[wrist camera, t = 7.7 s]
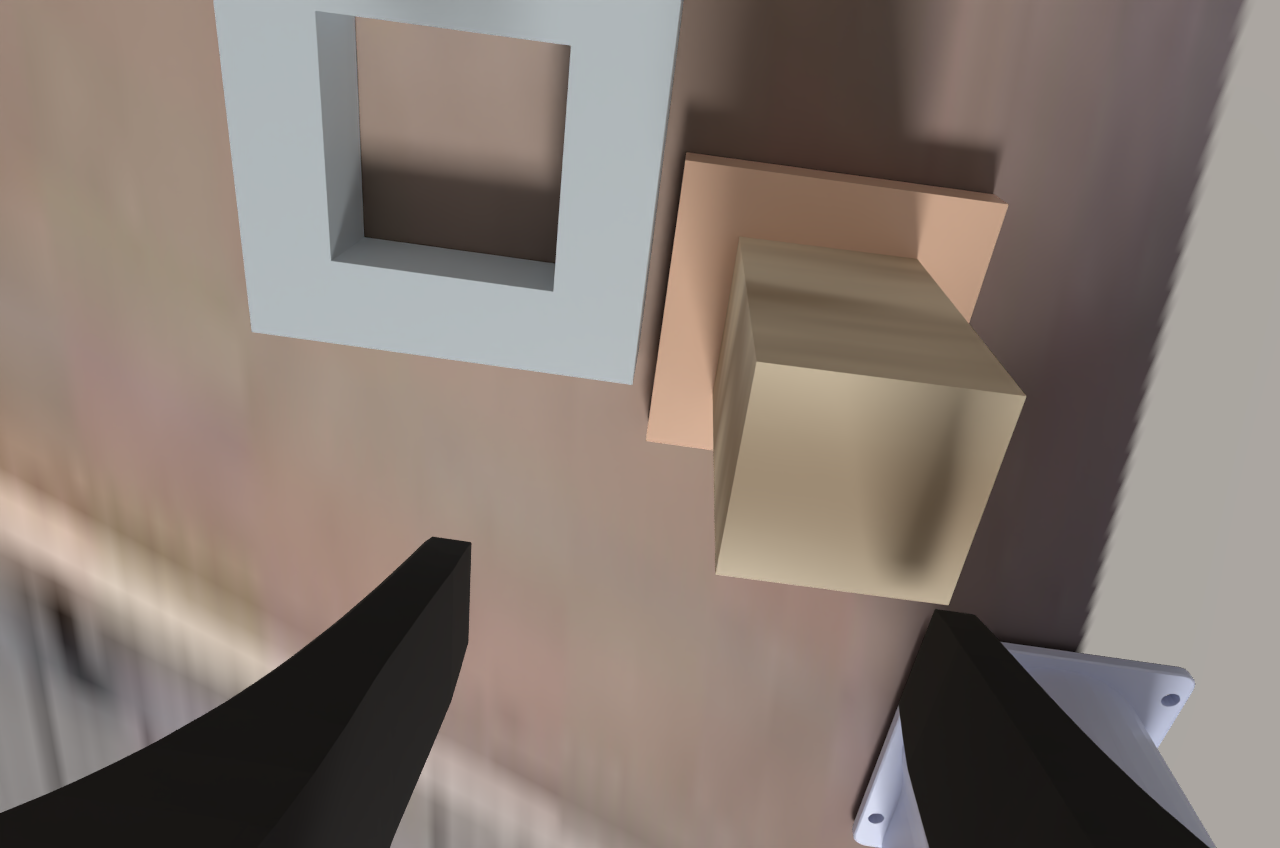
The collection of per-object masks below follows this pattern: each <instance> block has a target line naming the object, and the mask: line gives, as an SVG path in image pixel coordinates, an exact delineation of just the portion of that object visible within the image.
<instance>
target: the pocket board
mask: <svg viewBox="0 0 1280 848" xmlns="http://www.w3.org/2000/svg"><path fill="white" fill-rule="evenodd" d="M213 1H214V10H215V18H216V27H217V35H218V44H219V53H220V61H221V70H222V79H223V87H224V96H225V104H226V113H227V122H228V130H229V139H230V147H231V156H232V165H233V173H234V182H235V191H236V199H237V208H238V216H239V225H240V234H241V242H242V251H243V260H244V268H245V277H246V285H247V294H248V303H249V311H250V320H251V328H252V332H256V333H264V334H271V335H278V336H285V337H292V338H299V339H307V340H314V341H321V342H328V343H335V344H343V345H350V346H357V347H364V348H371V349H378V350H386V351H393V352H400V353H407V354H414V355H422V356H429V357H436V358H443V359H450V360H457V361H465V362H472V363H479V364H486V365H493V366H501V367H508V368H515V369H522V370H529V371H536V372H544V373H551V374H558V375H565V376H572V377H580V378H587V379H594V380H601V381H608V382H615V383H623V384H630V385H632V384H633V378H634V373H635V368H636V362H637V357H638V352H639V344H640V336H641V328H642V321H643V313H644V305H645V297H646V290H647V282H648V274H649V266H650V258H651V251H652V243H653V235H654V227H655V220H656V212H657V204H658V196H659V188H660V181H661V173H662V165H663V157H664V150H665V142H666V134H667V126H668V119H669V111H670V103H671V95H672V87H673V80H674V72H675V64H676V56H677V49H678V41H679V33H680V25H681V17H682V10H683V2H684V0H213ZM355 16H358V17H365V18H373V19H380V20H387V21H395V22H402V23H409V24H417V25H424V26H431V27H439V28H446V29H453V30H461V31H468V32H475V33H483V34H490V35H497V36H505V37H512V38H519V39H526V40H534V41H541V42H548V43H556V44H563V45H570V46H571V53H570V67H569V81H568V95H567V109H566V123H565V137H564V150H563V164H562V178H561V192H560V206H559V220H558V234H557V248H556V262H555V263H548V262H541V261H533V260H526V259H519V258H512V257H504V256H497V255H490V254H483V253H476V252H468V251H461V250H454V249H447V248H439V247H432V246H425V245H418V244H410V243H403V242H396V241H389V240H382V239H374V238H367V237H364V219H363V196H362V173H361V149H360V126H359V103H358V79H357V56H356V33H355Z"/></svg>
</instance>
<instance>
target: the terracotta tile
mask: <svg viewBox="0 0 1280 848" xmlns="http://www.w3.org/2000/svg"><path fill="white" fill-rule="evenodd" d="M1008 205H1009V204H1007V203H1006V202H1004V201H1003V200H1001V199H1000V198H999V197H997V196H996V195H994V194H988V193H980V192H973V191H966V190H959V189H951V188H944V187H937V186H929V185H922V184H915V183H908V182H900V181H893V180H886V179H878V178H871V177H864V176H857V175H849V174H842V173H835V172H827V171H820V170H813V169H806V168H798V167H791V166H784V165H776V164H769V163H762V162H755V161H747V160H740V159H733V158H725V157H718V156H711V155H704V154H696V153H689V152H686V159H685V166H684V173H683V180H682V187H681V194H680V201H679V209H678V216H677V223H676V230H675V237H674V244H673V251H672V258H671V265H670V272H669V279H668V286H667V294H666V301H665V308H664V315H663V322H662V329H661V336H660V343H659V350H658V357H657V364H656V371H655V378H654V386H653V393H652V400H651V407H650V414H649V421H648V428H647V436H646V441H650V442H657V443H664V444H672V445H679V446H686V447H693V448H700V449H707V450H713V390H714V384H715V378H716V372H717V366H718V360H719V354H720V348H721V342H722V336H723V330H724V324H725V318H726V313H727V307H728V301H729V295H730V289H731V283H732V277H733V271H734V265H735V259H736V253H737V247H738V241H739V236H740V237H748V238H756V239H764V240H772V241H780V242H788V243H796V244H803V245H811V246H819V247H827V248H835V249H843V250H851V251H859V252H866V253H874V254H882V255H890V256H898V257H906V258H914V259H918V260H919V262H920V263H921V264H922V265H923V267H924V268H925V269H926V270H927V272H928V273H929V274H930V275H931V277H932V278H933V279H934V281H935V282H936V283H937V284H938V286H939V287H940V288H941V289H942V291H943V292H944V293H945V294H946V296H947V297H948V298H949V299H950V301H951V302H952V303H953V304H954V306H955V307H956V308H957V309H958V311H959V312H960V313H961V314H962V316H963V317H964V318H965V320H966V321H967V322H968V323H969V322H970V319H971V316H972V313H973V310H974V307H975V304H976V301H977V298H978V295H979V292H980V289H981V286H982V283H983V280H984V277H985V274H986V271H987V268H988V265H989V262H990V259H991V256H992V253H993V250H994V247H995V244H996V241H997V238H998V235H999V232H1000V229H1001V226H1002V223H1003V220H1004V217H1005V214H1006V211H1007V208H1008Z"/></svg>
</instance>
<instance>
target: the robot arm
mask: <svg viewBox="0 0 1280 848" xmlns="http://www.w3.org/2000/svg"><path fill="white" fill-rule="evenodd" d="M470 571H471V542H466V541H459V540H452V539H445V538H438V537H431V538H430V539H428V540H427V541H425V542H424V543H423V544H422V545H421V546H420V547H419V548H418V549H417V550H416V551H415V552H414V553H413V554H412V555H411V556H410V557H409V558H408V559H407V560H406V561H405V562H403V563H402V564H401V565H400V566H399V567H398V568H397V569H396V570H395V571H394V572H393V573H392V574H391V575H390V576H388V577H387V578H386V579H385V580H384V581H383V582H382V583H381V584H380V585H379V586H378V587H376V588H375V589H374V590H373V591H372V592H371V593H370V594H369V595H367V596H366V597H365V598H364V599H363V600H362V601H360V602H359V603H358V604H357V605H356V606H355V607H353V608H352V609H351V610H350V611H349V612H348V613H347V614H345V615H344V616H343V617H342V618H341V619H339V620H338V621H337V622H336V623H335V624H333V625H332V626H331V627H330V628H328V629H327V630H326V631H324V632H323V633H322V634H321V635H319V636H318V637H317V638H315V639H314V640H313V641H312V642H310V643H309V644H308V645H306V646H305V647H304V648H303V649H301V650H300V651H299V652H297V653H296V654H295V655H294V656H292V657H291V658H290V659H288V660H287V661H285V662H284V663H283V664H281V665H280V666H278V667H277V668H276V669H274V670H273V671H271V672H270V673H269V674H267V675H266V676H264V677H263V678H261V679H260V680H258V681H257V682H255V683H254V684H252V685H251V686H249V687H248V688H246V689H245V690H243V691H242V692H240V693H239V694H237V695H236V696H234V697H233V698H231V699H229V700H228V701H226V702H225V703H223V704H221V705H220V706H218V707H216V708H214V709H213V710H211V711H209V712H208V713H206V714H204V715H203V716H201V717H199V718H197V719H196V720H194V721H192V722H190V723H189V724H187V725H185V726H183V727H182V728H180V729H178V730H176V731H174V732H173V733H171V734H169V735H167V736H166V737H164V738H162V739H160V740H159V741H157V742H155V743H153V744H151V745H149V746H147V747H145V748H143V749H141V750H139V751H137V752H135V753H133V754H131V755H129V756H127V757H125V758H123V759H121V760H119V761H117V762H115V763H113V764H111V765H109V766H107V767H105V768H103V769H101V770H99V771H96V772H94V773H92V774H90V775H88V776H86V777H84V778H82V779H79V780H77V781H75V782H73V783H71V784H69V785H66V786H64V787H62V788H60V789H57V790H55V791H53V792H51V793H48V794H46V795H43V796H41V797H39V798H36V799H34V800H31V801H29V802H26V803H24V804H22V805H19V806H17V807H14V808H12V809H9V810H7V811H4V812H2V813H0V848H390V846H391V843H392V840H393V838H394V835H395V833H396V830H397V828H398V826H399V823H400V821H401V819H402V816H403V814H404V812H405V809H406V807H407V805H408V802H409V800H410V797H411V795H412V793H413V790H414V788H415V786H416V783H417V781H418V779H419V776H420V774H421V772H422V769H423V767H424V765H425V762H426V760H427V758H428V755H429V753H430V751H431V748H432V746H433V743H434V741H435V739H436V736H437V734H438V732H439V729H440V727H441V724H442V722H443V720H444V717H445V715H446V712H447V710H448V708H449V705H450V703H451V700H452V696H453V693H454V690H455V686H456V683H457V680H458V676H459V673H460V669H461V666H462V662H463V659H464V655H465V652H466V648H467V645H468V635H469V603H470ZM1194 687H1195V681H1194V679H1193V677H1192V676H1191V675H1190V673H1189V672H1188V671H1187V670H1186V669H1184V668H1181V667H1175V666H1168V665H1161V664H1154V663H1147V662H1139V661H1133V660H1125V659H1119V658H1111V657H1105V656H1097V655H1090V654H1083V653H1076V652H1069V651H1062V650H1055V649H1048V648H1041V647H1034V646H1027V645H1019V644H1012V643H1005V642H1000V641H999V640H998V639H997V638H996V637H995V636H994V635H993V633H992V632H991V631H990V630H989V629H988V628H987V627H986V626H985V625H984V624H983V623H982V622H981V621H980V620H979V619H978V618H977V617H976V616H975V615H972V614H965V613H958V612H951V611H944V610H937V609H935V611H934V613H933V616H932V618H931V621H930V624H929V626H928V629H927V631H926V634H925V637H924V639H923V642H922V644H921V647H920V650H919V652H918V655H917V657H916V660H915V663H914V665H913V668H912V670H911V673H910V675H909V678H908V681H907V683H906V686H905V688H904V691H903V694H902V696H901V699H900V701H899V704H898V708H897V710H896V713H895V716H894V718H893V721H892V724H891V726H890V729H889V731H888V734H887V737H886V739H885V742H884V745H883V747H882V750H881V753H880V755H879V758H878V760H877V763H876V766H875V768H874V771H873V774H872V776H871V779H870V782H869V784H868V787H867V789H866V792H865V795H864V797H863V800H862V803H861V805H860V808H859V811H858V813H857V816H856V818H855V821H854V824H853V828H852V830H853V836H854V839H855V841H857V842H858V843H860V844H862V845H866V846H873V847H880V848H1216V846H1215V844H1214V843H1213V841H1212V839H1211V838H1210V836H1209V834H1208V833H1207V831H1206V829H1205V828H1204V826H1203V824H1202V823H1201V821H1200V819H1199V817H1198V816H1197V814H1196V812H1195V811H1194V809H1193V807H1192V806H1191V804H1190V803H1189V801H1188V799H1187V797H1186V796H1185V794H1184V792H1183V791H1182V789H1181V787H1180V786H1179V784H1178V782H1177V781H1176V779H1175V777H1174V776H1173V774H1172V772H1171V771H1170V769H1169V767H1168V766H1167V764H1166V762H1165V761H1164V759H1163V757H1162V756H1161V754H1160V752H1159V751H1158V749H1157V748H1158V747H1159V745H1160V744H1161V742H1162V740H1163V739H1164V737H1165V735H1166V734H1167V732H1168V730H1169V729H1170V727H1171V725H1172V724H1173V722H1174V721H1175V719H1176V717H1177V716H1178V714H1179V713H1180V711H1181V709H1182V708H1183V706H1184V704H1185V703H1186V701H1187V700H1188V698H1189V696H1190V695H1191V693H1192V691H1193V689H1194ZM1168 694H1169V695H1168ZM1166 695H1167V696H1166Z"/></svg>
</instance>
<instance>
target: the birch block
mask: <svg viewBox="0 0 1280 848" xmlns="http://www.w3.org/2000/svg"><path fill="white" fill-rule="evenodd" d="M1025 399H1026V395H1025V394H1024V393H1023V391H1022V390H1021V389H1020V387H1019V386H1018V385H1017V384H1016V382H1015V381H1014V380H1013V379H1012V377H1011V376H1010V375H1009V374H1008V372H1007V371H1006V370H1005V369H1004V367H1003V366H1002V365H1001V364H1000V362H999V361H998V360H997V359H996V357H995V356H994V355H993V354H992V352H991V351H990V350H989V348H988V347H987V346H986V345H985V343H984V342H983V341H982V340H981V338H980V337H979V336H978V335H977V333H976V332H975V331H974V330H973V328H972V327H971V326H970V325H969V323H968V322H967V321H966V320H965V318H964V317H963V316H962V314H961V313H960V312H959V311H958V309H957V308H956V307H955V306H954V304H953V303H952V302H951V301H950V299H949V298H948V297H947V296H946V294H945V293H944V292H943V291H942V289H941V288H940V287H939V286H938V284H937V283H936V282H935V281H934V279H933V278H932V277H931V275H930V274H929V273H928V272H927V270H926V269H925V268H924V267H923V265H922V264H921V263H920V262H919V260H918V259H914V258H906V257H898V256H890V255H882V254H874V253H866V252H859V251H851V250H843V249H835V248H827V247H819V246H811V245H803V244H796V243H788V242H780V241H772V240H764V239H756V238H748V237H740V236H739V241H738V247H737V253H736V259H735V265H734V271H733V277H732V283H731V289H730V295H729V301H728V307H727V313H726V318H725V324H724V330H723V336H722V342H721V348H720V354H719V360H718V366H717V372H716V378H715V384H714V390H713V456H714V516H715V575H723V576H730V577H738V578H745V579H753V580H761V581H768V582H776V583H783V584H791V585H798V586H806V587H814V588H821V589H829V590H836V591H844V592H851V593H859V594H867V595H874V596H882V597H889V598H897V599H905V600H912V601H920V602H927V603H935V604H942V605H949V602H950V600H951V597H952V594H953V592H954V589H955V586H956V584H957V581H958V578H959V576H960V573H961V570H962V568H963V565H964V562H965V560H966V557H967V554H968V552H969V549H970V546H971V544H972V541H973V538H974V535H975V533H976V530H977V527H978V525H979V522H980V519H981V517H982V514H983V511H984V509H985V506H986V503H987V501H988V498H989V495H990V493H991V490H992V487H993V485H994V482H995V479H996V477H997V474H998V471H999V469H1000V466H1001V463H1002V461H1003V458H1004V455H1005V453H1006V450H1007V447H1008V445H1009V442H1010V439H1011V437H1012V434H1013V431H1014V429H1015V426H1016V423H1017V420H1018V418H1019V415H1020V412H1021V410H1022V407H1023V404H1024V402H1025Z"/></svg>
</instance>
